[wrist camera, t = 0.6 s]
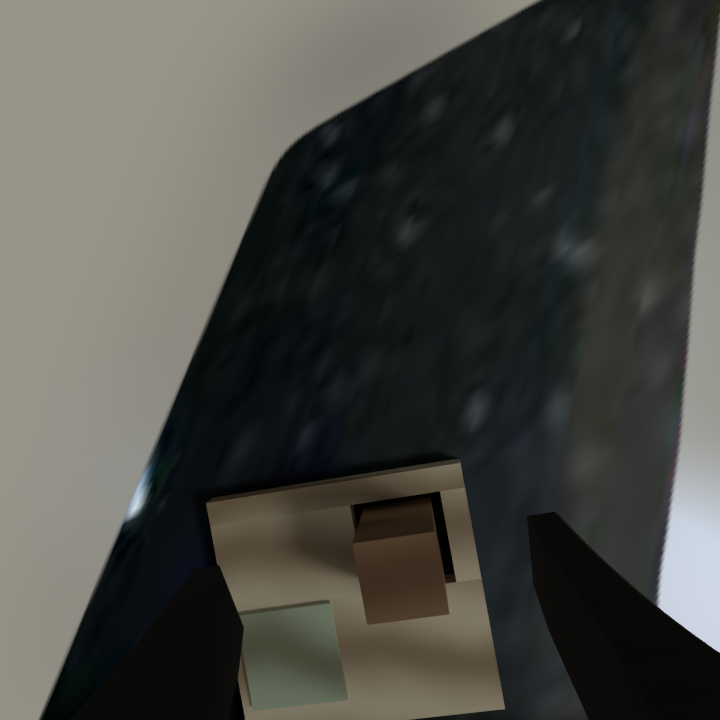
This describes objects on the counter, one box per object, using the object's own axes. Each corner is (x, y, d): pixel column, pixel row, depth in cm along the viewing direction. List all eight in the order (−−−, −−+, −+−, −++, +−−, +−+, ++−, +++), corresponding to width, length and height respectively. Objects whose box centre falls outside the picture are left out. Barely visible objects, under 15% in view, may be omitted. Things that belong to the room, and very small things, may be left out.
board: (501, 695, 31) (505, 712, 30) (254, 723, 33) (246, 741, 31) (458, 458, 31) (460, 463, 30) (213, 497, 33) (204, 504, 31)
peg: (442, 564, 31) (449, 614, 25) (375, 573, 32) (367, 625, 26) (430, 497, 31) (434, 531, 25) (363, 507, 32) (352, 543, 26)
